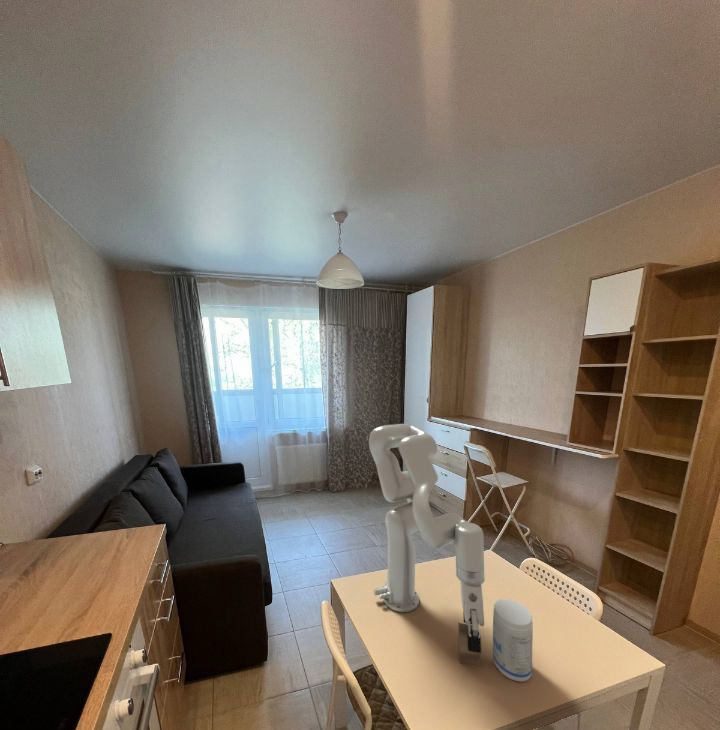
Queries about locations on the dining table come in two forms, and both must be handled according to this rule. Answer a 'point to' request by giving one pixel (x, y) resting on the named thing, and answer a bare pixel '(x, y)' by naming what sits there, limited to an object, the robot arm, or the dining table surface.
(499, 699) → the dining table surface
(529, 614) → the supplement tub
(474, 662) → the walnut block
